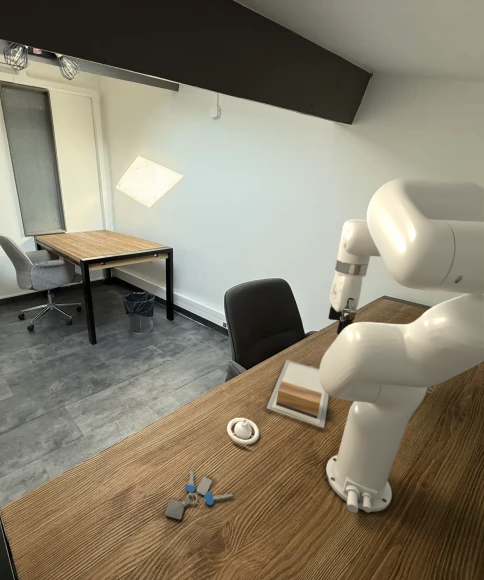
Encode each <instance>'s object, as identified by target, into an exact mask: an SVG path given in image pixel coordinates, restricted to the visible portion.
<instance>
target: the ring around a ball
mask: <svg viewBox="0 0 484 580" xmlns="http://www.w3.org/2000/svg"><path fill="white" fill-rule="evenodd" d="M234 425H235V426H234ZM233 426H234V432H233V431H232V427H233ZM252 429H253V430H254V434H252V433H253V430H252ZM226 432H227V434H228V436H229V438H230V439H231V440H232V441H234V442H235V443H238V444H239V445H244V446H245V445H246V446H247V445H248V446H249V445H252V444H254V443H256V442H257V441H258V439H259V437H260V430H259V427H258V426H257V425H256V423H255V422H254V421H252V420H250V419H249V418H245V417H235V418H233V419H231V420H230V421H229V422H228V424H227V427H226Z"/></svg>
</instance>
